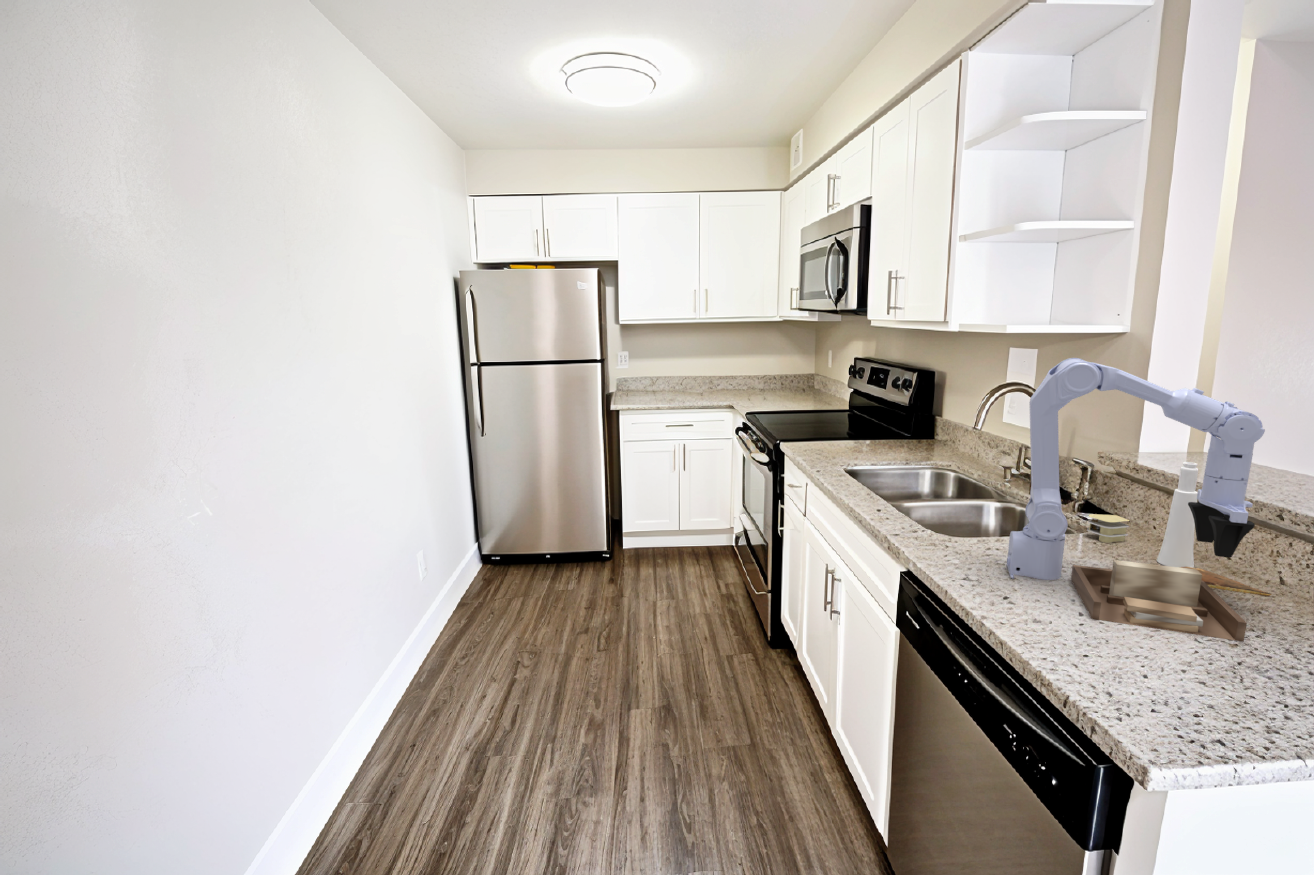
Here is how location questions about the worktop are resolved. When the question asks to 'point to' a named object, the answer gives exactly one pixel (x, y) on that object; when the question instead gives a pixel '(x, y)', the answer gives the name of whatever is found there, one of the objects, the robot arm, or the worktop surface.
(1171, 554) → the cosmetic bottle
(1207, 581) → the shard
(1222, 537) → the robot arm
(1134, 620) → the offcut bottom
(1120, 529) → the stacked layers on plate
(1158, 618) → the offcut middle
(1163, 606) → the offcut top
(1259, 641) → the worktop surface
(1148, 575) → the birch sheet
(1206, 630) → the rack
